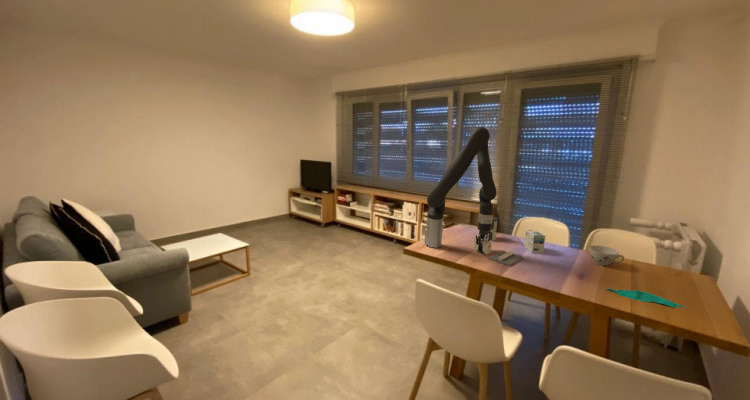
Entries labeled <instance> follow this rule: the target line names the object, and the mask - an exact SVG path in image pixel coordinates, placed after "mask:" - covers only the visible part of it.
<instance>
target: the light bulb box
mask: <svg viewBox="0 0 750 400" xmlns="http://www.w3.org/2000/svg"><path fill="white" fill-rule="evenodd" d="M545 242H546V235H545V234H543V233H541V232H540V231H538V230H536V229H535V230H533V229H526V230H525V237H524V242H523V243H524V245H523V247H524V248H525V249H526V250H527V251H529V252H530V253H531V254H544V250H545Z"/></svg>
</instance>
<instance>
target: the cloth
mask: <svg viewBox="0 0 750 400" xmlns="http://www.w3.org/2000/svg"><path fill="white" fill-rule="evenodd" d="M605 291H613V292H614V293H616V294H617V295H618V296H621V297H625V298H628V299H632V300H635V301H639V302H645V303H649V302H652V303H653V302H654V303H655V304H656V303H657V304H662V305H663V304H664V305H663V306H667V305H668V306H667V307H672V308H674V309H676V308H675V307H677V308H678V306H680V307H679V308H683V307H684V308H683V309H687V307H686V306H684V305H682V304H679V303H677V302H674V303H673V301H671V300H669V299H666V298H664V297H662V296H659V295H655V294H653V293H650V292H648V291H644V290H643V291H641V290H629V289H614V288H606V289H605ZM676 305H677V306H676Z"/></svg>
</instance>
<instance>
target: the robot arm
mask: <svg viewBox="0 0 750 400" xmlns="http://www.w3.org/2000/svg"><path fill="white" fill-rule="evenodd" d="M490 134H491V133H490V131H489V130H488V128H486V127H484V126H478V127H476V128H474V129H473V130H472V132H471V135H470V137H469V138H468V140H467V142H466V144H465V146H464V147H463V148H462V150H460V152H459V153H458V154H456V156H455V157H454V159H453V160H452V161H451V163H449V165H448V166H447V168H446V169H445V172H444V173H443V175H442V176H441V177H440V180H439V182H438V183H437V184H436V185H435V187H434V188H433V189H432V190H431V192H430V193H429V194H428V195H427V198H426V203H427V205H428V206H429V208H428V210H427V218H426V228H425V230H424V243H425V244H426V245H428V246H430V247H429V248H431V247H434V248H433V249H437V248H438V247H439V248H441V247H442V243H443V242H442V239H443V227H444V225H443V224H444V214H445V210H446V209H445V208H446V206H445V205H446V196H447V195H448V193H449V192H450V191H451V190H452V188H453V187H454V186H455V185H456V184H457V183H458V182H459V181H460V180H462V177H463V176H464V175H465V174H466V172H467V170H468V169H469V168H470V165H471V164H472V162H473V161H474V159H475V157H476V159H477V160H476V162H477V171H478V179H479V182H480V183H481V185H482V187H480V189H479V193H478V198H479V200H478V201H479V213H478V216H477V217H478V218H477V230H478V231H479V232H478V234H476V235H475V240H476V244H478V245H479V246H478V251H477V252H480V253H482V252H483V251H482V248H483V246H482V245H483V242H484V241H488V242H491V241H490V238H491V234H492V232H491V229H492V219H493V217H492V216H493V214H494V205H493V204H492V200H494V199H496V197H497V193H498V192H497V186H496V184H495V181H494V177H493V176H494V175H493V169H492V163H491V159H490V154H489V153H490V152H489V140H490V136H491V135H490ZM481 239H483V240H481ZM481 241H482V243H481ZM425 244H424V245H425ZM426 245H425V246H426ZM428 246H427V247H428ZM439 248H438V249H439Z"/></svg>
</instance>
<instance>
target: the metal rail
mask: <svg viewBox="0 0 750 400" xmlns="http://www.w3.org/2000/svg"><path fill="white" fill-rule="evenodd" d="M506 252H507V253H505V254H503V255H501V256H499V257H497V258H498V260H500V261H503V260H505V259H507V258H508V257H510V256H512V255H514V254H515V252H513V251H506Z"/></svg>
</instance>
